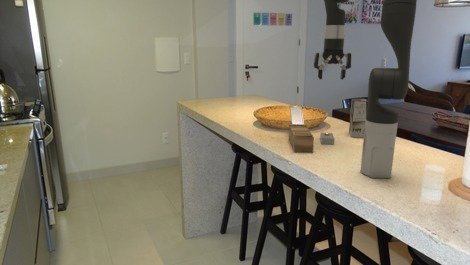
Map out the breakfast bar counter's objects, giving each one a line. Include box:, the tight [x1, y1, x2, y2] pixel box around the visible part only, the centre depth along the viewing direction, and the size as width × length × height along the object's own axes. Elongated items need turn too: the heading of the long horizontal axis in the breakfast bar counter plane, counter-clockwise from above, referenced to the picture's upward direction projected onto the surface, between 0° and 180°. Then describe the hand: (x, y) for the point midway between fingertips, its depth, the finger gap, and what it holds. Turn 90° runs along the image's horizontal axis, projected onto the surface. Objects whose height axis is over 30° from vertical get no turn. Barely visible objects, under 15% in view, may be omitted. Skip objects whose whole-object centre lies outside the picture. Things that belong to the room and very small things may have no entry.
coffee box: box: [348, 98, 368, 139], centre depth 154 cm, size 9×6×16 cm
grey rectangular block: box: [319, 132, 335, 146], centre depth 146 cm, size 9×5×4 cm, turn 169°
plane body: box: [288, 124, 315, 154], centre depth 139 cm, size 18×7×7 cm, turn 178°
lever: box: [288, 105, 305, 125], centre depth 152 cm, size 1×5×12 cm
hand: (331, 79), depth 140 cm, fingers open, 8 cm apart
